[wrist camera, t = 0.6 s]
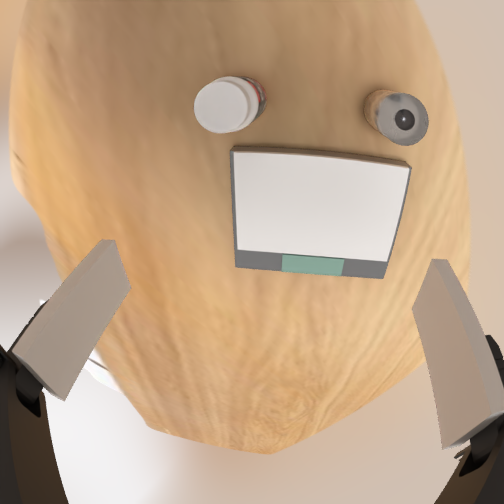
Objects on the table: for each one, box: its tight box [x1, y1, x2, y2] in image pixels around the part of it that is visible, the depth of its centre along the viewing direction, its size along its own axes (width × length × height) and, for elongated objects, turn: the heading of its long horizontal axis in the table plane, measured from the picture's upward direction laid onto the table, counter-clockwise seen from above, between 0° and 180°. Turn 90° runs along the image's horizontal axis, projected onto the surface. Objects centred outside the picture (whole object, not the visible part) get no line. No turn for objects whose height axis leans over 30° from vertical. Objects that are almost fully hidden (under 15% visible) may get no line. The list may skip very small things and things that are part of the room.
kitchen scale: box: [230, 146, 412, 279], centre depth 30 cm, size 14×18×3 cm
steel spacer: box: [364, 90, 428, 146], centre depth 21 cm, size 4×4×6 cm
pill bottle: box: [194, 76, 267, 133], centre depth 21 cm, size 5×5×8 cm
